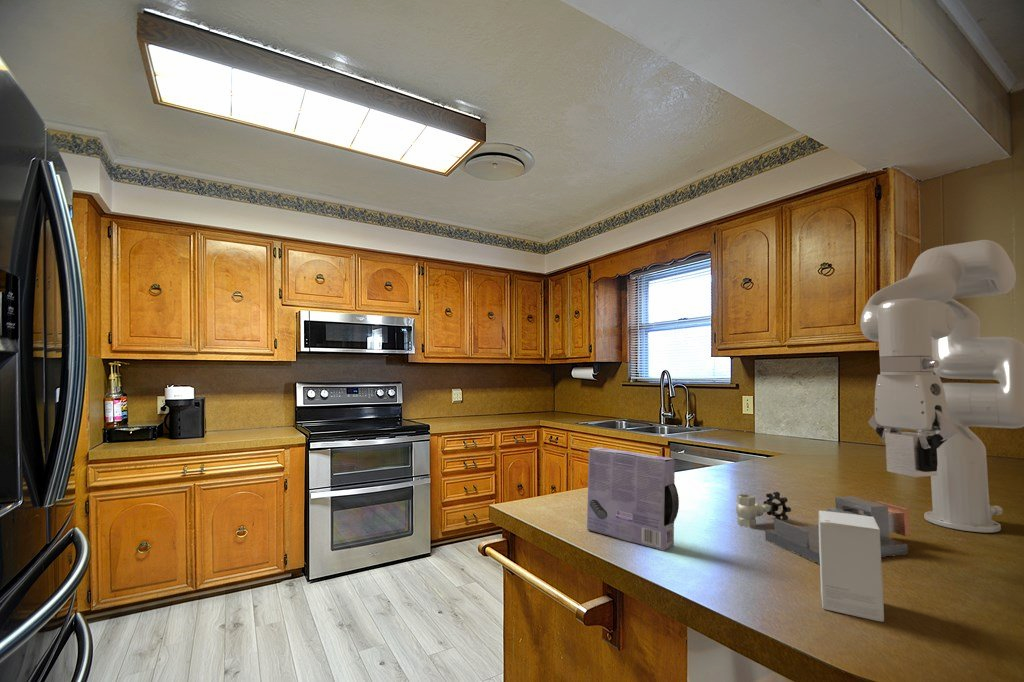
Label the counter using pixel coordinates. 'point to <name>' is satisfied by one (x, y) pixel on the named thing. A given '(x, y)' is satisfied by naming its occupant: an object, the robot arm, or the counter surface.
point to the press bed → (808, 536)
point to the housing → (904, 454)
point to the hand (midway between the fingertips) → (911, 466)
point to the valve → (759, 508)
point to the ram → (896, 517)
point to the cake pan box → (632, 497)
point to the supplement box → (851, 565)
